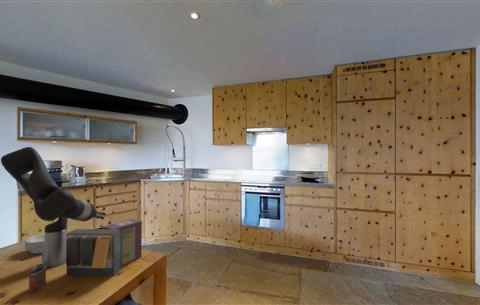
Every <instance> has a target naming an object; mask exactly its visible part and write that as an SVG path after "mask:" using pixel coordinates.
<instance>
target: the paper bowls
mask: <svg viewBox="0 0 480 305" xmlns="http://www.w3.org/2000/svg"><path fill="white" fill-rule="evenodd" d="M44 236H45V233H42V234H38V235H34V236H31V237H28V238H27V239H25V241H24V249H25V251H28V252H30V253H31V254H35V255H36V254H37V255H38V254H42V247H43V246H44Z"/></svg>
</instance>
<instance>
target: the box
mask: <svg viewBox="0 0 480 305" xmlns="http://www.w3.org/2000/svg"><path fill="white" fill-rule="evenodd" d="M142 224H143V221H142V220H138V219H133V218H129V219H125V220H122V221H118V222H114V223H111V224H107V225H104V226H102V229H121V244H120V268H121V267H123V266H125V265H128V264H130V263H132V262H133V261H136V260H138V259H140V258H142V250H143V249H142V241H143V240H142V239H143V238H142V234H143V232H142V231H143V227H142V226H143V225H142Z"/></svg>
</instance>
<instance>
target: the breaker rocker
mask: <svg viewBox="0 0 480 305" xmlns="http://www.w3.org/2000/svg"><path fill="white" fill-rule="evenodd" d="M109 242H110V239H97V241H96V246H95V251H94V256H93V262H92V267H91V268H105V265H106V259H107V254H108V248H109Z"/></svg>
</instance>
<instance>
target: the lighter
mask: <svg viewBox="0 0 480 305" xmlns="http://www.w3.org/2000/svg"><path fill="white" fill-rule="evenodd" d="M43 265H44V263H42V262H40V263H36V264H35V266H33V267H32V268H30V273H28V277H27V278H28V291H27V293H28V295H32V294H35V293H37V292H39V291H40V290H42V289H43V288H44V287H45V286H46V285H47V269H48V267H46V266H43Z"/></svg>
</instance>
